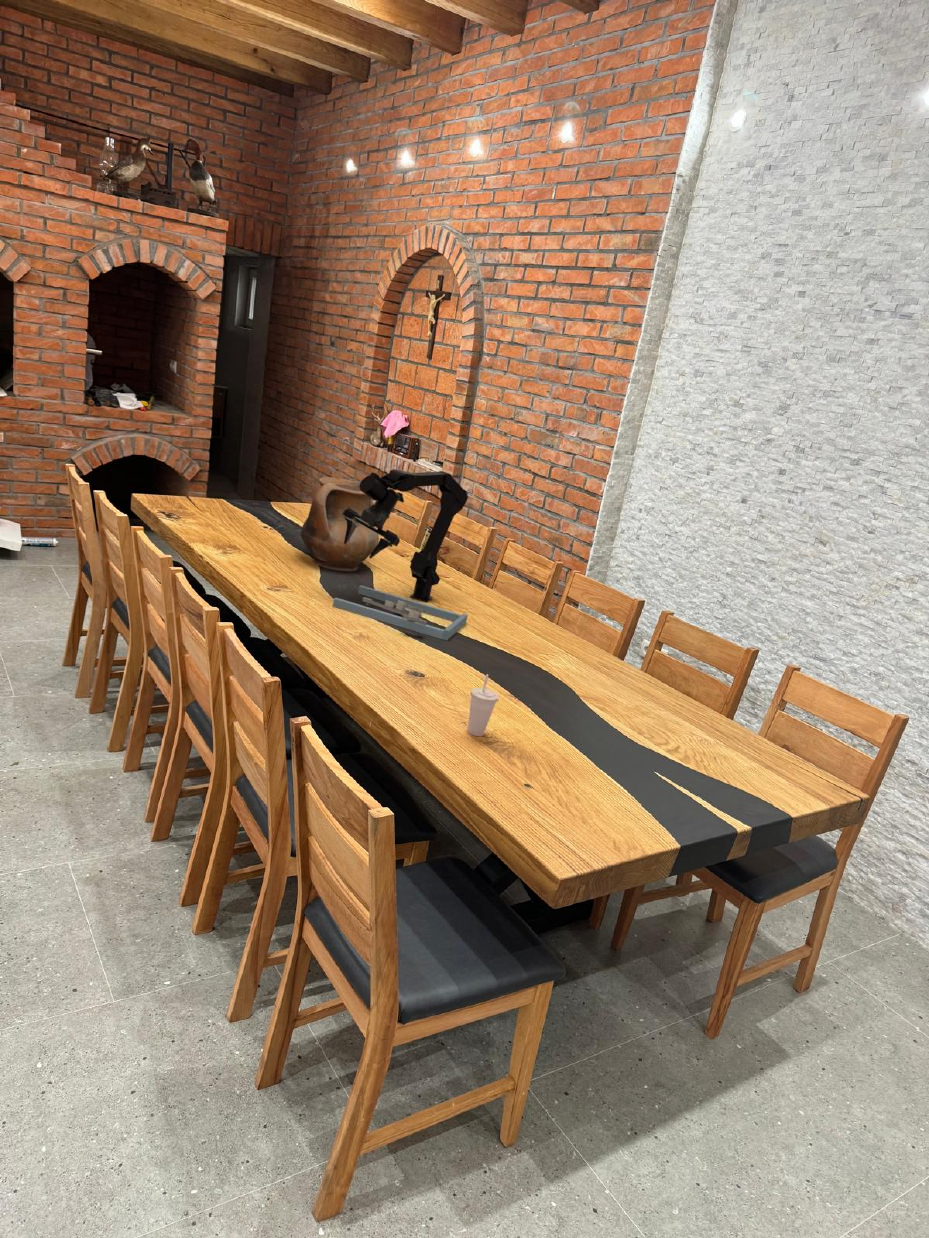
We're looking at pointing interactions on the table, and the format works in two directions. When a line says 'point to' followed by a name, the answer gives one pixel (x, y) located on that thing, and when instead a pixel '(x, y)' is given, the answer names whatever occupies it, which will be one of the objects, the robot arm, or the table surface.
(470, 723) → the smoothie
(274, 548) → the table surface
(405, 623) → the track
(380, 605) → the pulley system
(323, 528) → the jug
